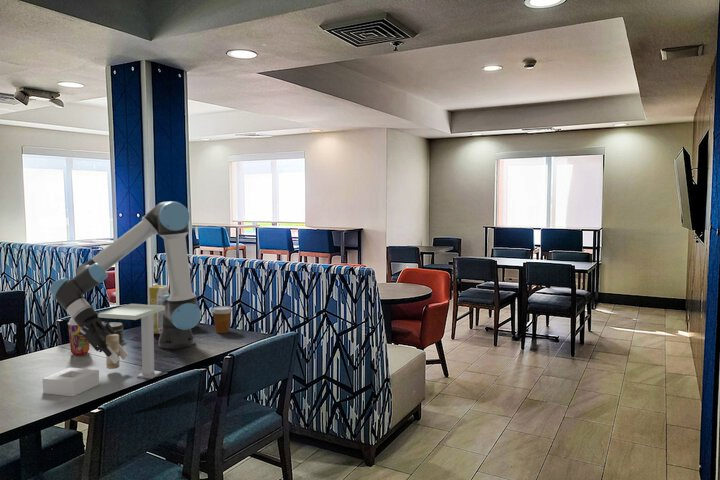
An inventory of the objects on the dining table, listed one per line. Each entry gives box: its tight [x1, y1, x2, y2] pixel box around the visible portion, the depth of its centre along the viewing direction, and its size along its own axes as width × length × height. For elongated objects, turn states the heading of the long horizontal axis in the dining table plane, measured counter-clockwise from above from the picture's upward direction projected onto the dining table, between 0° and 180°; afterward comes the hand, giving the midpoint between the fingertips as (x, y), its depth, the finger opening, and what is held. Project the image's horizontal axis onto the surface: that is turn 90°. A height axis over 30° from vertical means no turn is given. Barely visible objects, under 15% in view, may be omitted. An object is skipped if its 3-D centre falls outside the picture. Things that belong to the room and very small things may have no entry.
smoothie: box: [67, 316, 91, 357], centre depth 216 cm, size 8×8×20 cm
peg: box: [105, 334, 120, 370], centre depth 194 cm, size 4×4×12 cm
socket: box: [42, 367, 100, 397], centre depth 178 cm, size 12×12×5 cm
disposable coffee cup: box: [211, 305, 233, 334], centre depth 257 cm, size 10×10×12 cm
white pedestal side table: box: [97, 303, 165, 380], centre depth 192 cm, size 17×18×24 cm
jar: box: [101, 322, 124, 343], centre depth 238 cm, size 10×10×8 cm
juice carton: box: [147, 283, 170, 335], centre depth 254 cm, size 9×8×24 cm
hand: (121, 359), depth 194 cm, fingers closed on peg, 4 cm apart
